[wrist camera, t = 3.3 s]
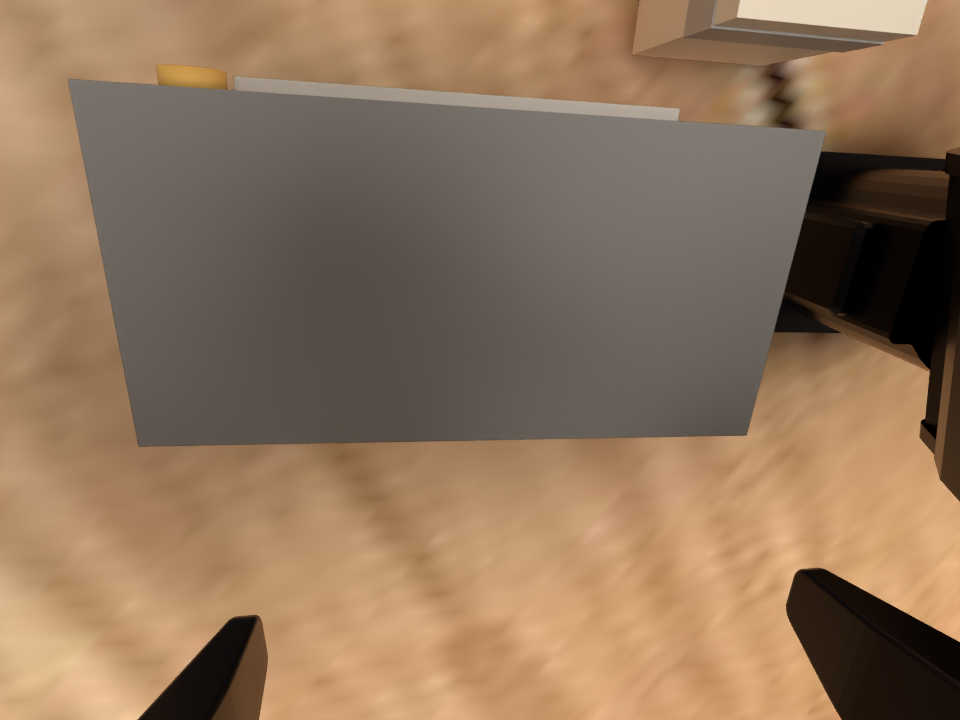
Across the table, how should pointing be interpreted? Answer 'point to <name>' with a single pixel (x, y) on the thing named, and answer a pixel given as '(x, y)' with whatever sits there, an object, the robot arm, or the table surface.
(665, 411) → the block
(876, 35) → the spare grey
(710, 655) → the table surface
